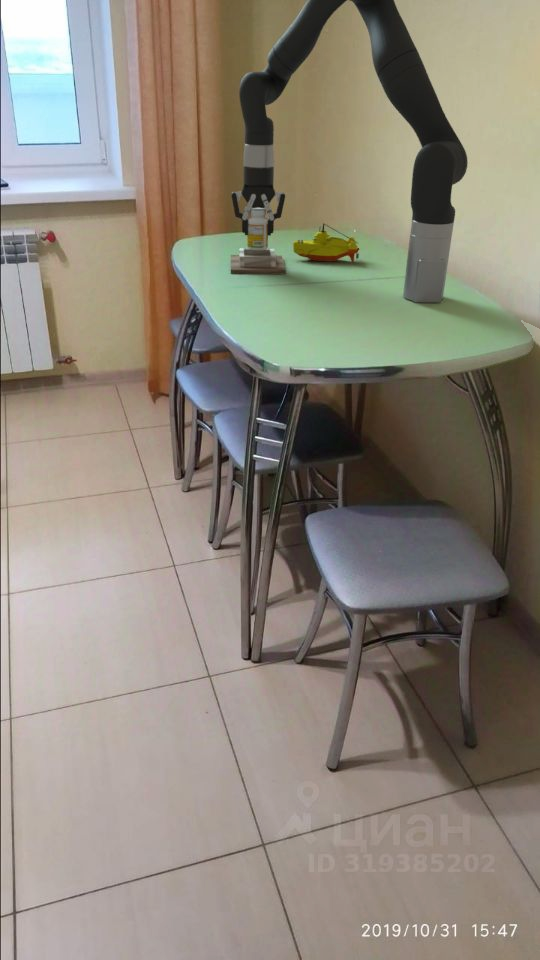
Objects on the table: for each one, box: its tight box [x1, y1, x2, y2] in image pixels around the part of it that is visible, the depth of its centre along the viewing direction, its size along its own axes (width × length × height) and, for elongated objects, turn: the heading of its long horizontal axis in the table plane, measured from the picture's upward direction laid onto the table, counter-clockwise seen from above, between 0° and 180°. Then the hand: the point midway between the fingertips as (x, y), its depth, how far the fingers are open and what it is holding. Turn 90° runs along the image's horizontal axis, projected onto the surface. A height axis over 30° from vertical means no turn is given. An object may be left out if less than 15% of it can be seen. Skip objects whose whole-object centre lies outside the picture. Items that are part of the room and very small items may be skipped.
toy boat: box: [292, 222, 360, 262], centre depth 195 cm, size 6×18×10 cm, turn 89°
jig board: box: [230, 247, 286, 275], centre depth 190 cm, size 16×14×4 cm
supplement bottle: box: [246, 207, 269, 250], centre depth 186 cm, size 5×5×10 cm
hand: (257, 234), depth 187 cm, fingers closed on supplement bottle, 5 cm apart
